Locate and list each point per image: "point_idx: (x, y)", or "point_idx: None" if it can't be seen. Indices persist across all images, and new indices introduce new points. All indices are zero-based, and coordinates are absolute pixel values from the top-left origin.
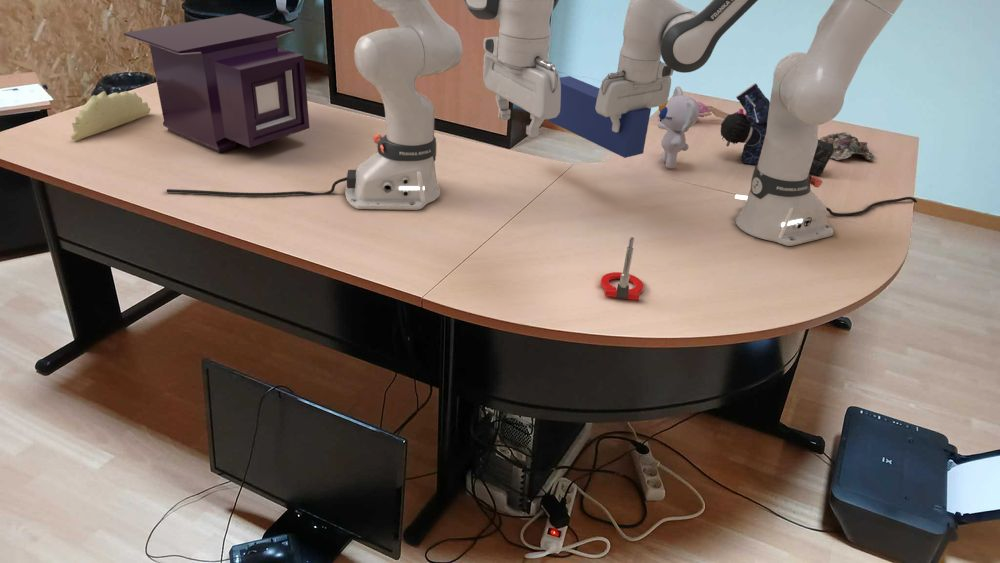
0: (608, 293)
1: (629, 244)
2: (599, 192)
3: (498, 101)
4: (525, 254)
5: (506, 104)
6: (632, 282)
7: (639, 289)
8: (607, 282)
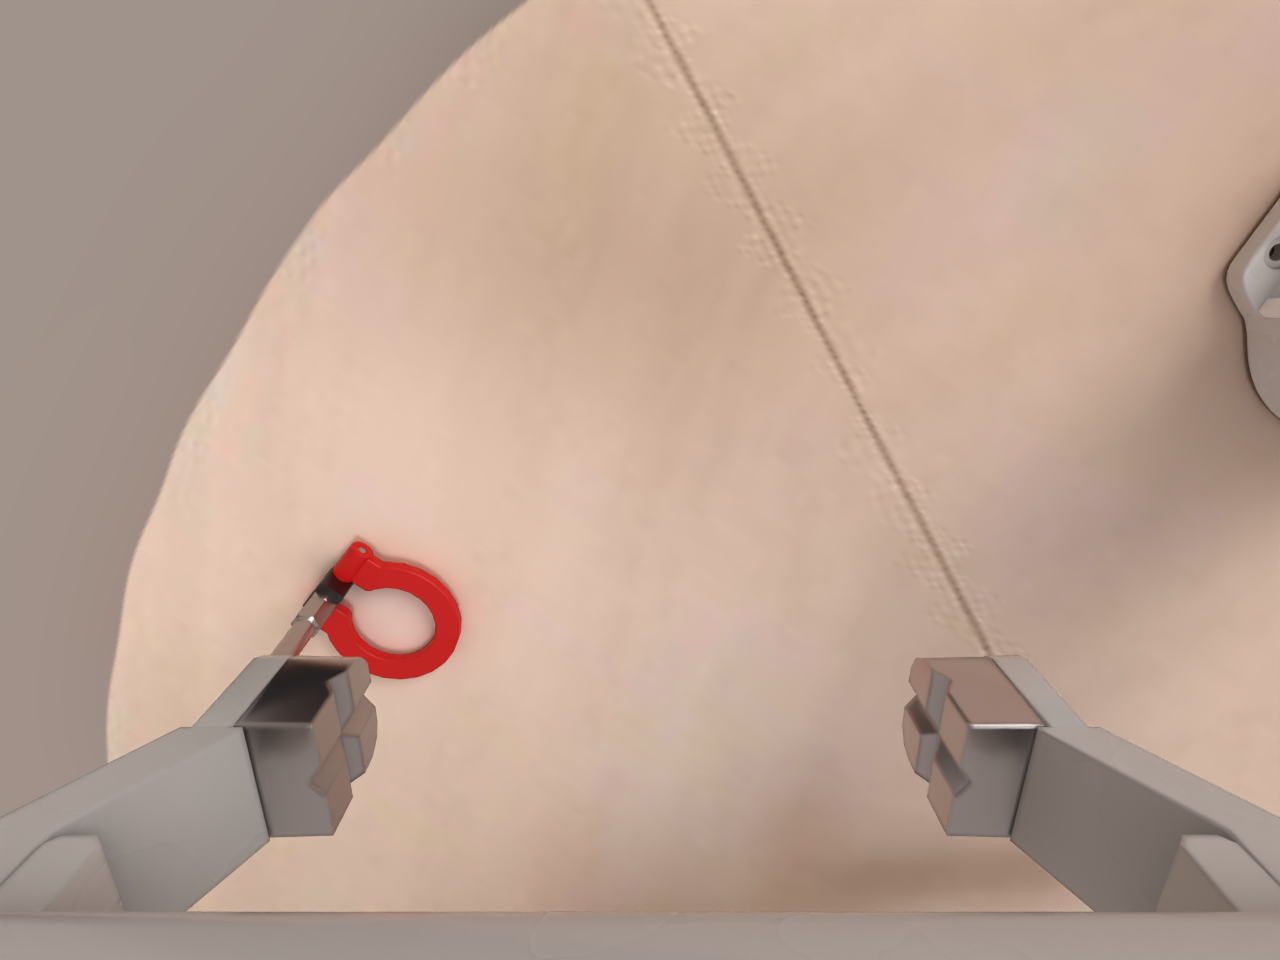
0: (347, 552)
1: None
2: (925, 886)
3: (1184, 814)
4: (701, 466)
5: (1077, 872)
6: (399, 655)
7: (335, 643)
8: (405, 586)
